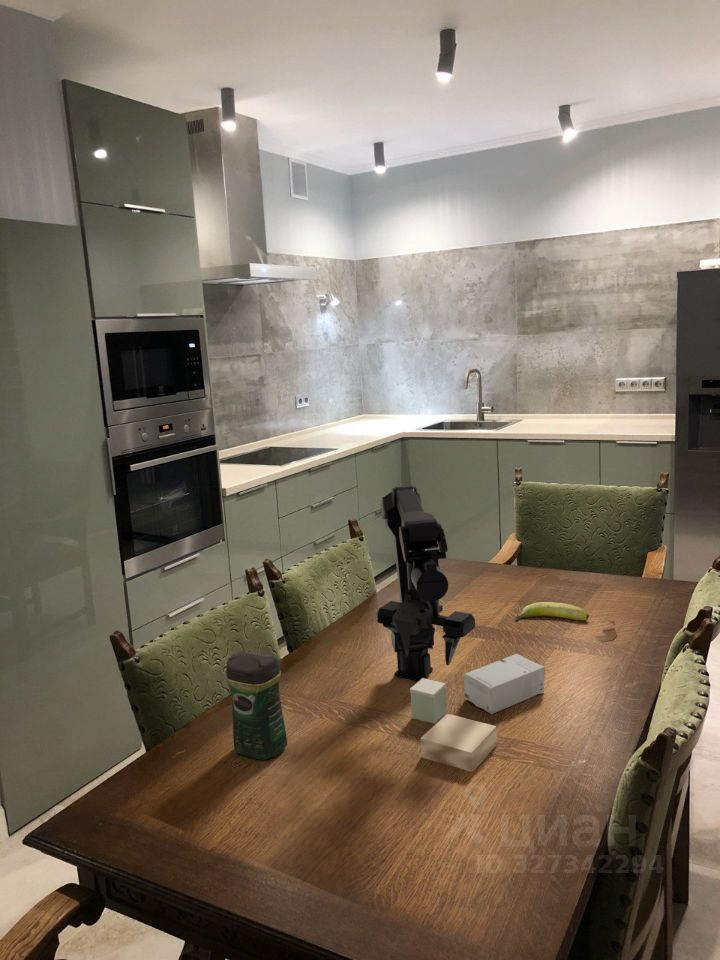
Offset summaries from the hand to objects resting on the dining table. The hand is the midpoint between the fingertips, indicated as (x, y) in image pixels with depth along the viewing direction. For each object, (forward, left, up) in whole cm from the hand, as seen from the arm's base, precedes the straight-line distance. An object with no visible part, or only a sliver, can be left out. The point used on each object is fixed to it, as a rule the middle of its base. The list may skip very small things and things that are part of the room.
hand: (427, 660), depth 150 cm
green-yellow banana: (+4, +58, -12) cm, 59 cm away
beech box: (+11, -9, -12) cm, 19 cm away
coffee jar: (-22, -25, -12) cm, 35 cm away
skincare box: (+13, +20, -9) cm, 26 cm away
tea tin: (0, 0, -12) cm, 12 cm away
